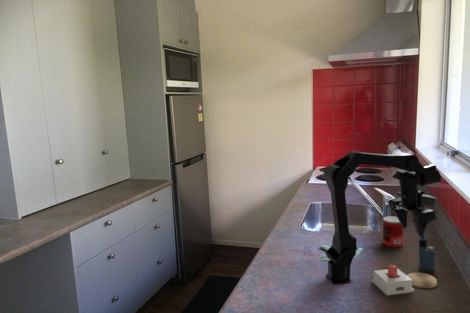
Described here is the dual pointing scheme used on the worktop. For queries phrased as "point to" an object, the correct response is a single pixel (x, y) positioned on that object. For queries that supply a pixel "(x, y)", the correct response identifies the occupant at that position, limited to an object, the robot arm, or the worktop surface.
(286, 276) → the worktop surface
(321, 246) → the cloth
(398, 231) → the canned food
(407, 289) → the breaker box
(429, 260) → the vaping device
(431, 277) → the coaster
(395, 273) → the button
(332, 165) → the robot arm
